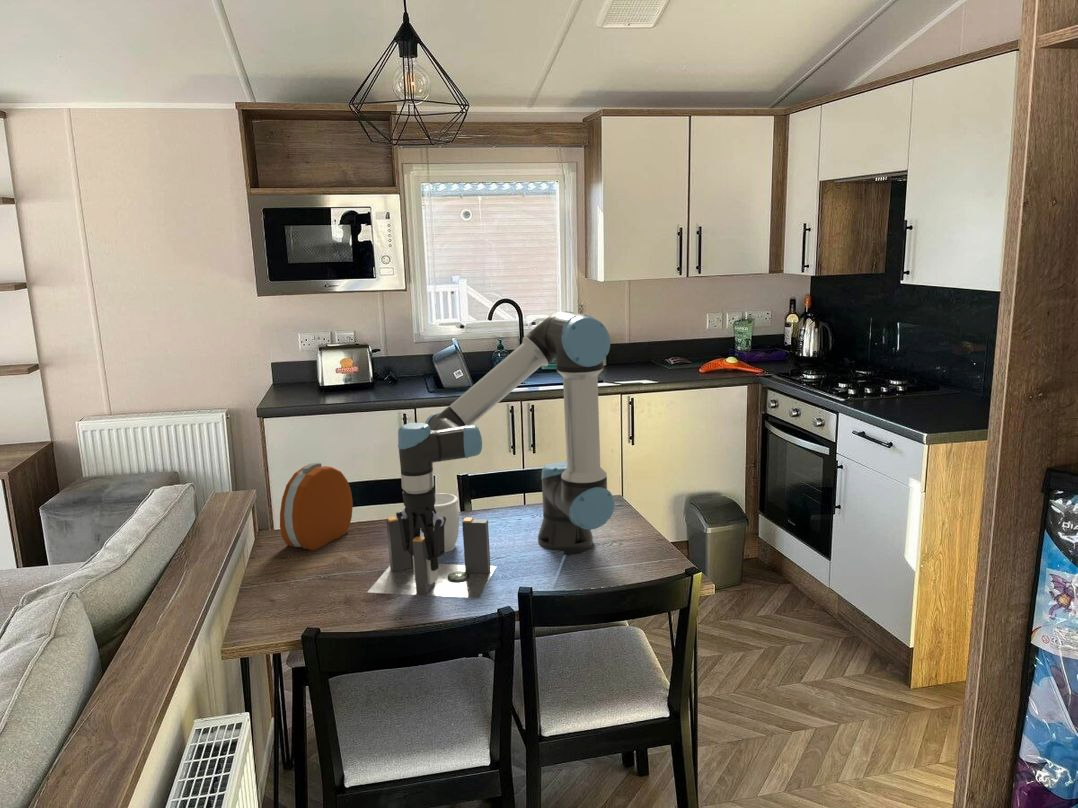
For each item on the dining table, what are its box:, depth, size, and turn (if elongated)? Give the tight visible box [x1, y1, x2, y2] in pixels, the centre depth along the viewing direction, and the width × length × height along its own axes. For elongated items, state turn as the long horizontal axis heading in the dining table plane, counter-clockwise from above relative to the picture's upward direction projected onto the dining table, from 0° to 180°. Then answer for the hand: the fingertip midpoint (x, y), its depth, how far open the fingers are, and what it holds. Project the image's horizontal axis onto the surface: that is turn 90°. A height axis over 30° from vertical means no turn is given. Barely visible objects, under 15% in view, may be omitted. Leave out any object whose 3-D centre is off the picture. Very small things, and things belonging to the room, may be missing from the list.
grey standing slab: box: [413, 531, 435, 596], centre depth 197 cm, size 6×2×14 cm, turn 165°
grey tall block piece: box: [461, 516, 491, 573], centre depth 206 cm, size 6×2×14 cm, turn 79°
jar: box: [433, 492, 460, 553], centre depth 223 cm, size 11×10×15 cm
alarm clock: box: [279, 462, 354, 551], centre depth 234 cm, size 22×10×23 cm, turn 153°
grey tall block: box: [385, 515, 413, 572], centre depth 210 cm, size 6×2×14 cm, turn 116°
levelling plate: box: [367, 563, 497, 599], centre depth 204 cm, size 28×18×2 cm, turn 79°
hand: (426, 580), depth 198 cm, fingers closed on grey standing slab, 3 cm apart
